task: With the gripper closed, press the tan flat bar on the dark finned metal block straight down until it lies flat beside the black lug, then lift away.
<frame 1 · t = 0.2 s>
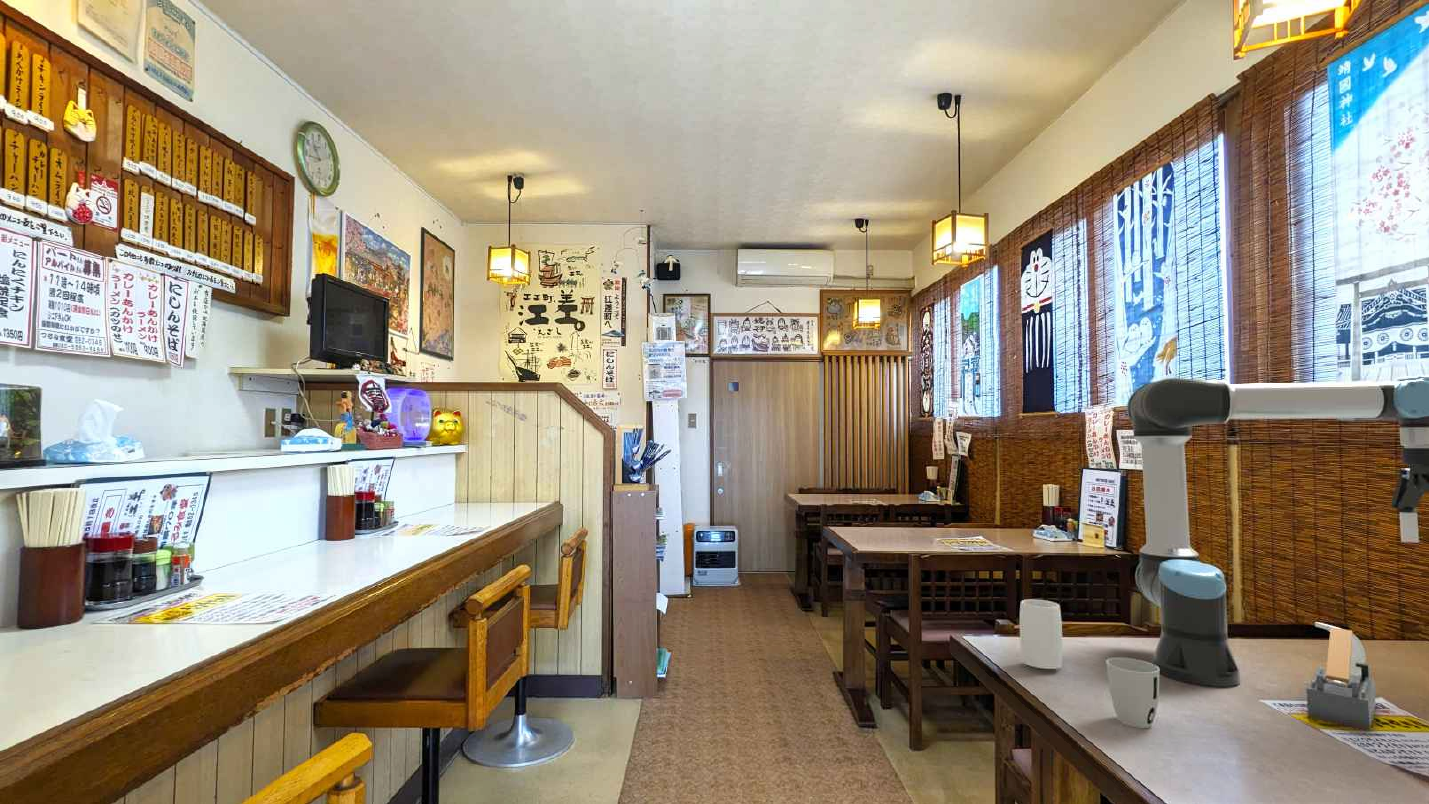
cup 2: (1041, 669, 146), on the table
cup: (1134, 723, 118), on the table
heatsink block: (1342, 711, 123), on the table
tan flat bar: (1339, 654, 124), point 10 cm above the table, hinge at 30.0°
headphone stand: (1342, 684, 137), on the table
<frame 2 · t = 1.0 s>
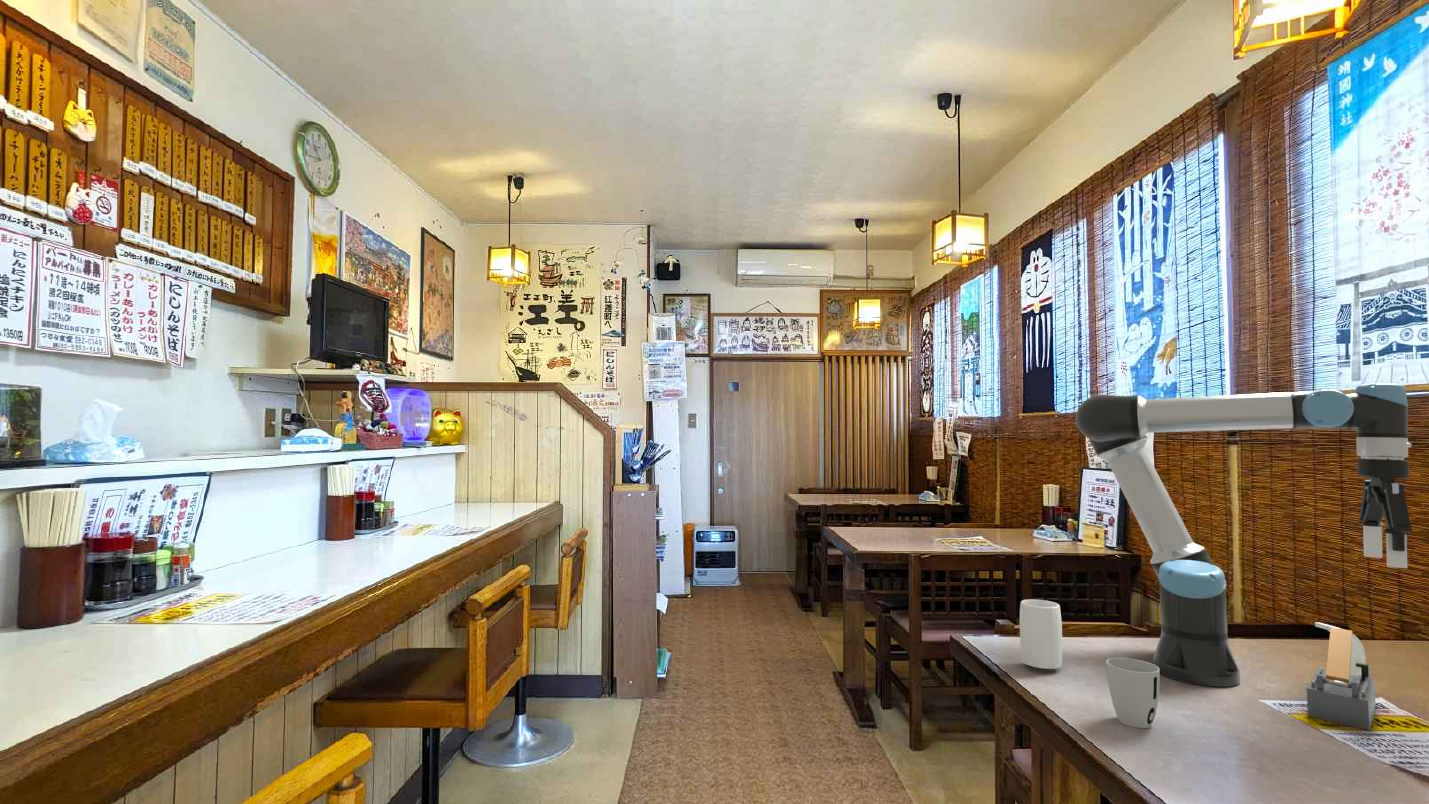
hand: (1384, 562, 135), 26 cm above the table, fingers open, 13 cm apart
nothing on the table moved.
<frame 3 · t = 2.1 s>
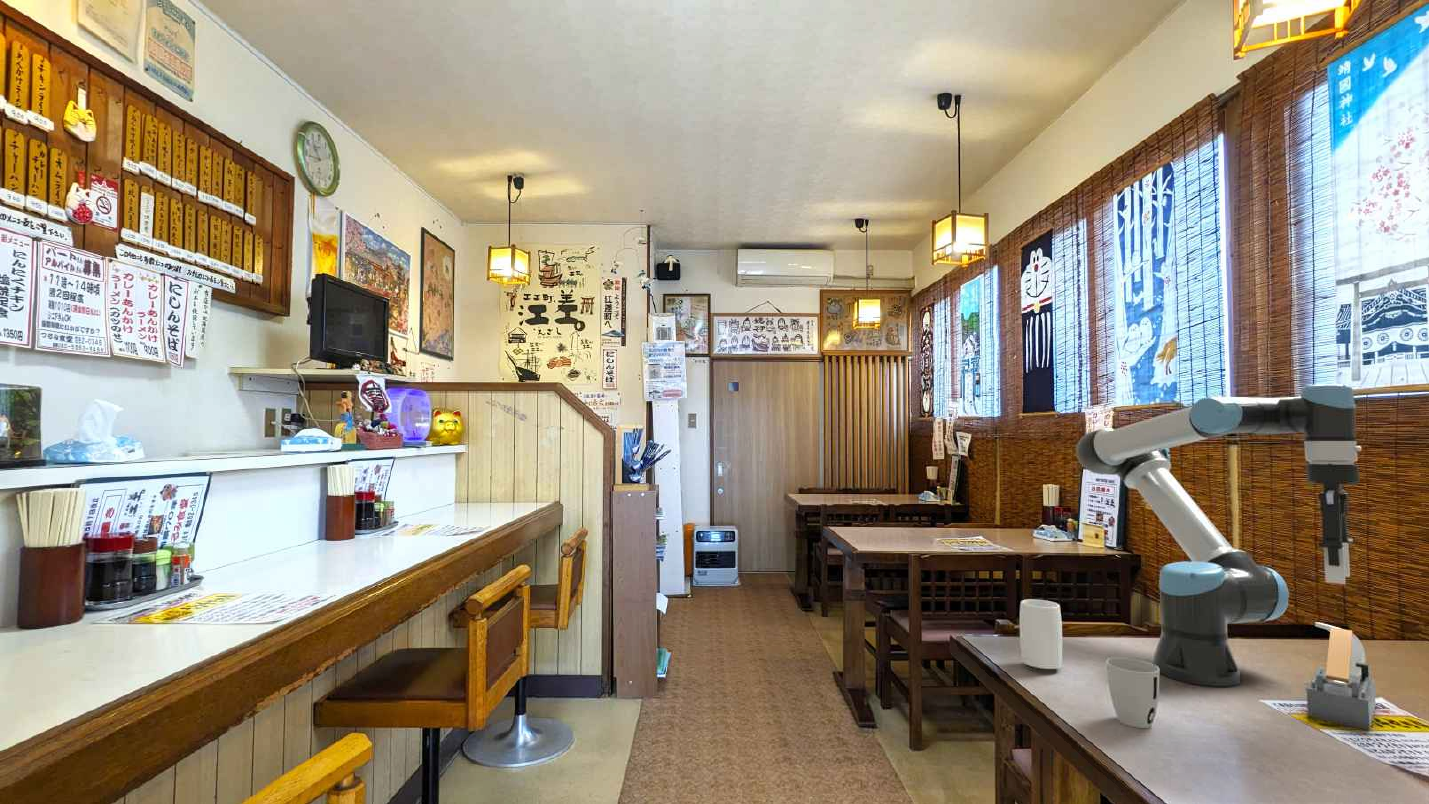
hand: (1338, 579, 128), 24 cm above the table, fingers open, 9 cm apart
nothing on the table moved.
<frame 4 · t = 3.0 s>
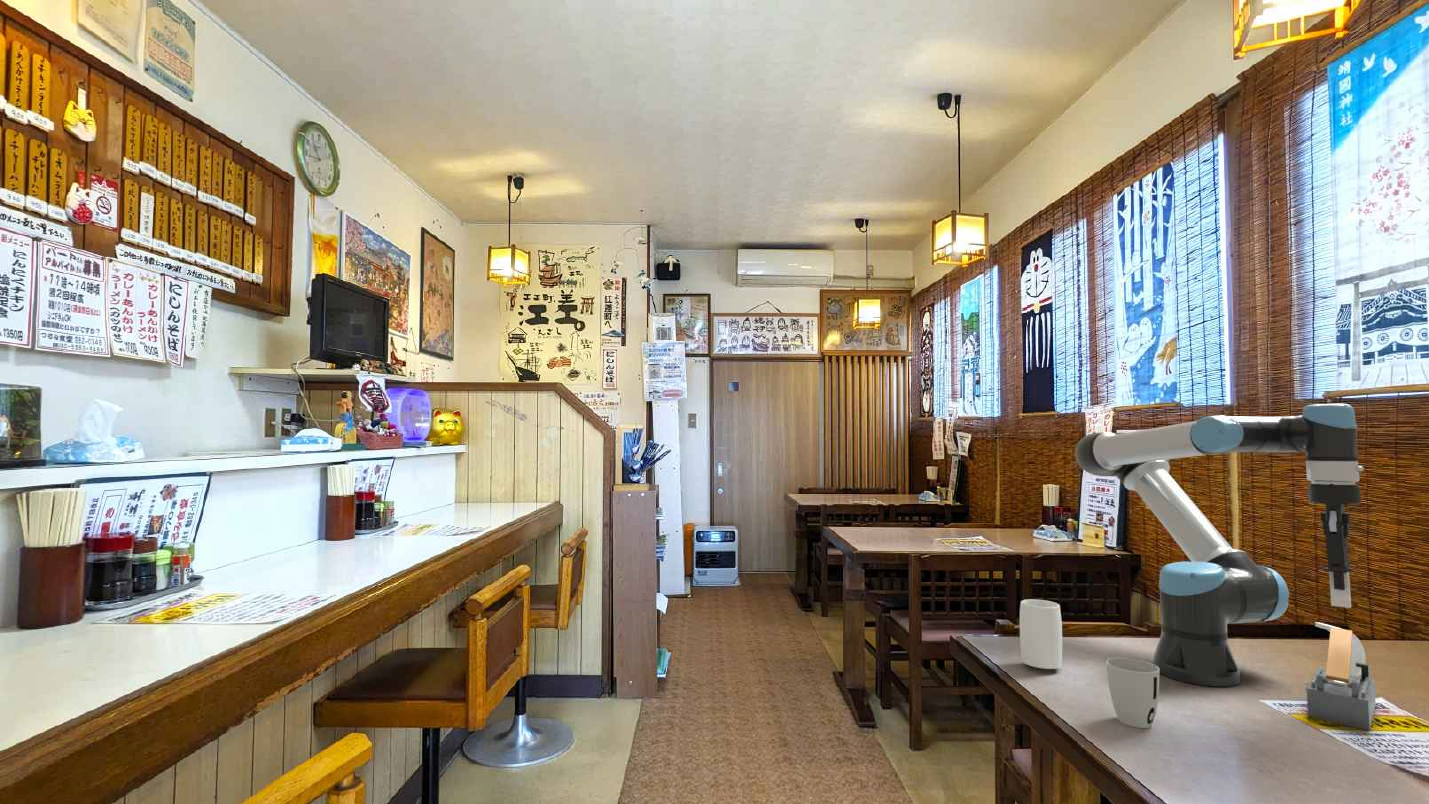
hand: (1341, 606, 127), 19 cm above the table, fingers closed
nothing on the table moved.
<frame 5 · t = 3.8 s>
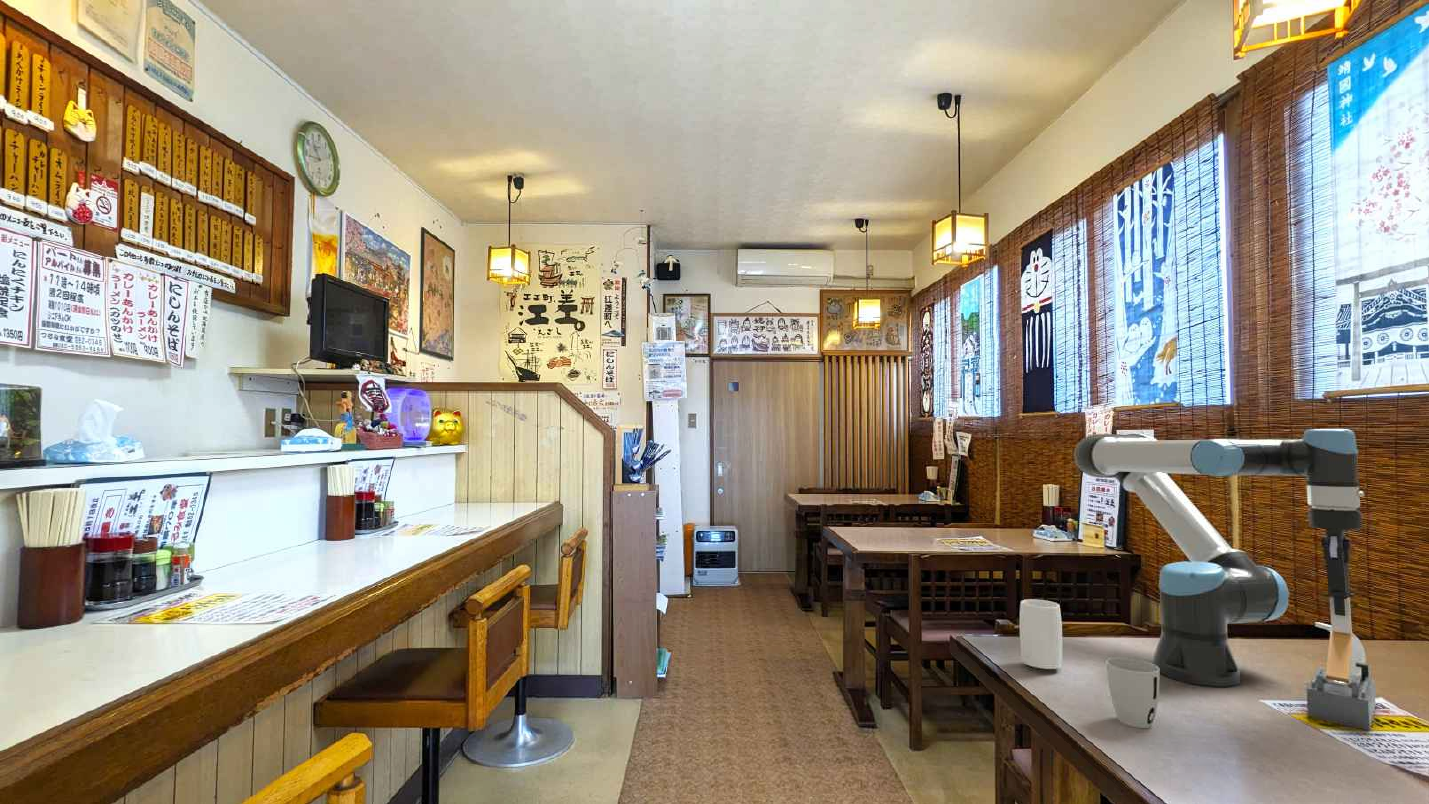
hand: (1341, 631, 127), 14 cm above the table, fingers closed
tan flat bar: (1339, 654, 124), point 10 cm above the table, hinge at 29.0°, touching gripper
everything else where it was.
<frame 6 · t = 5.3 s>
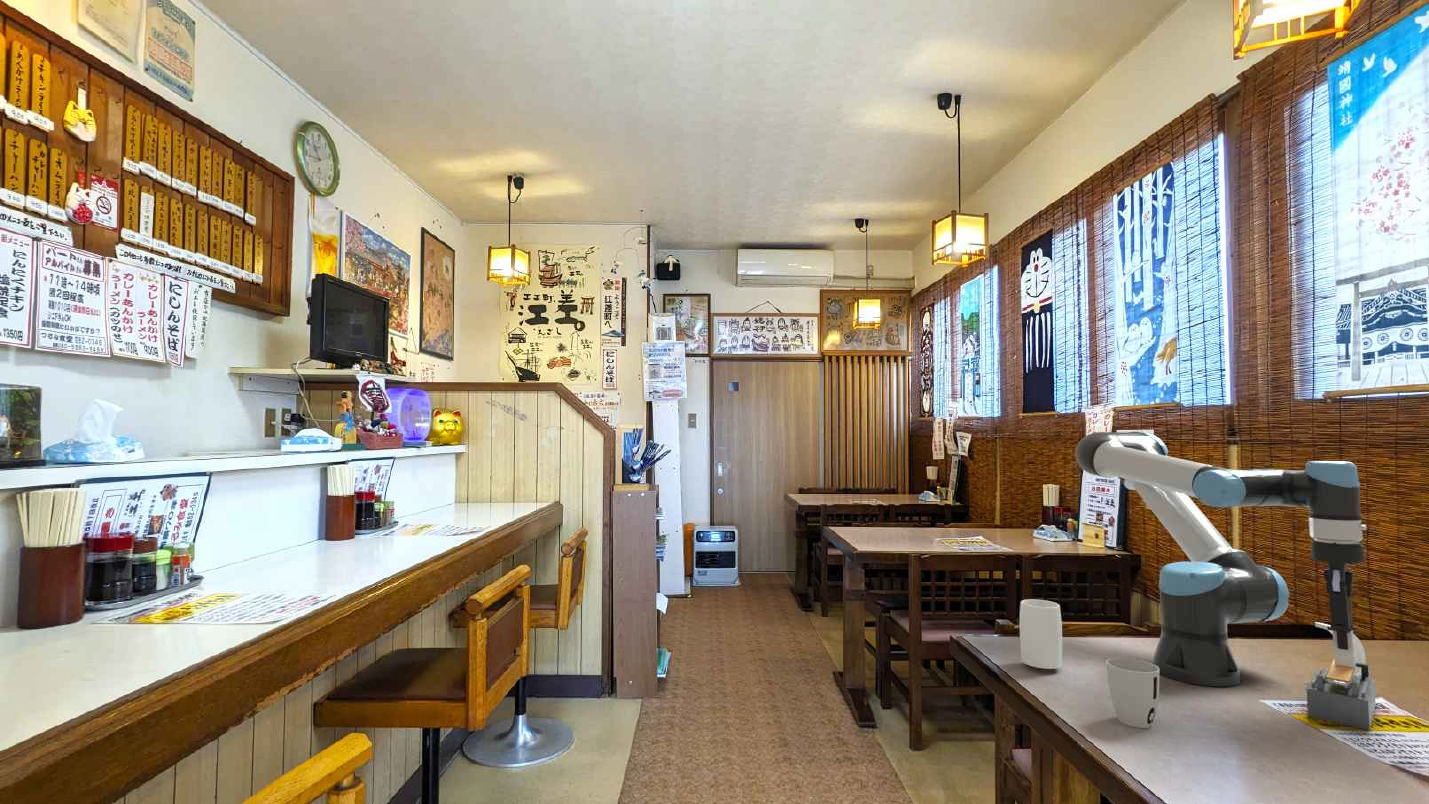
hand: (1344, 664, 126), 7 cm above the table, fingers closed, pressing on tan flat bar
tan flat bar: (1341, 672, 124), point 7 cm above the table, hinge at 1.4°, touching gripper
everything else where it was.
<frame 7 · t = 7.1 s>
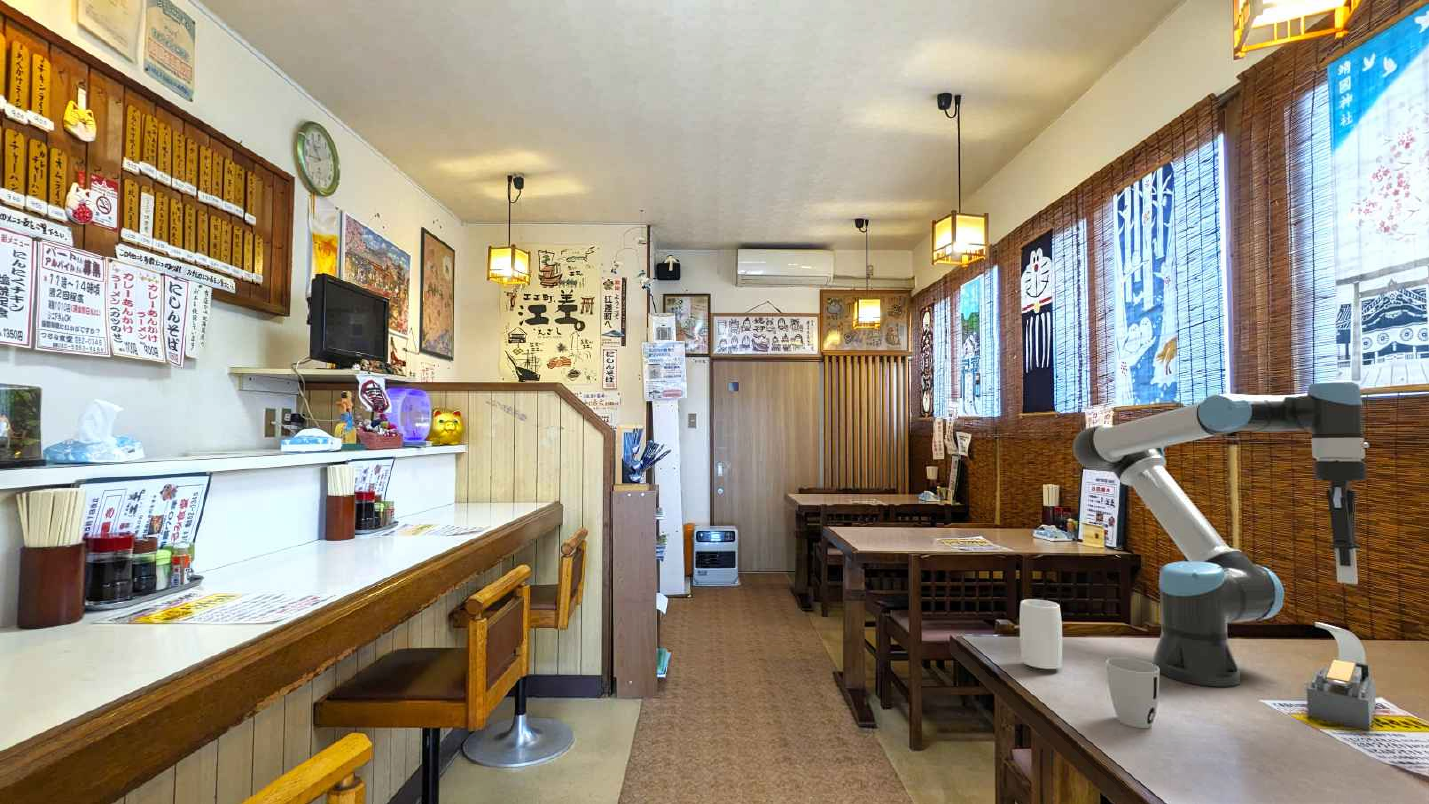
hand: (1347, 582, 127), 23 cm above the table, fingers closed
tan flat bar: (1341, 672, 124), point 7 cm above the table, hinge at 1.3°
everything else where it was.
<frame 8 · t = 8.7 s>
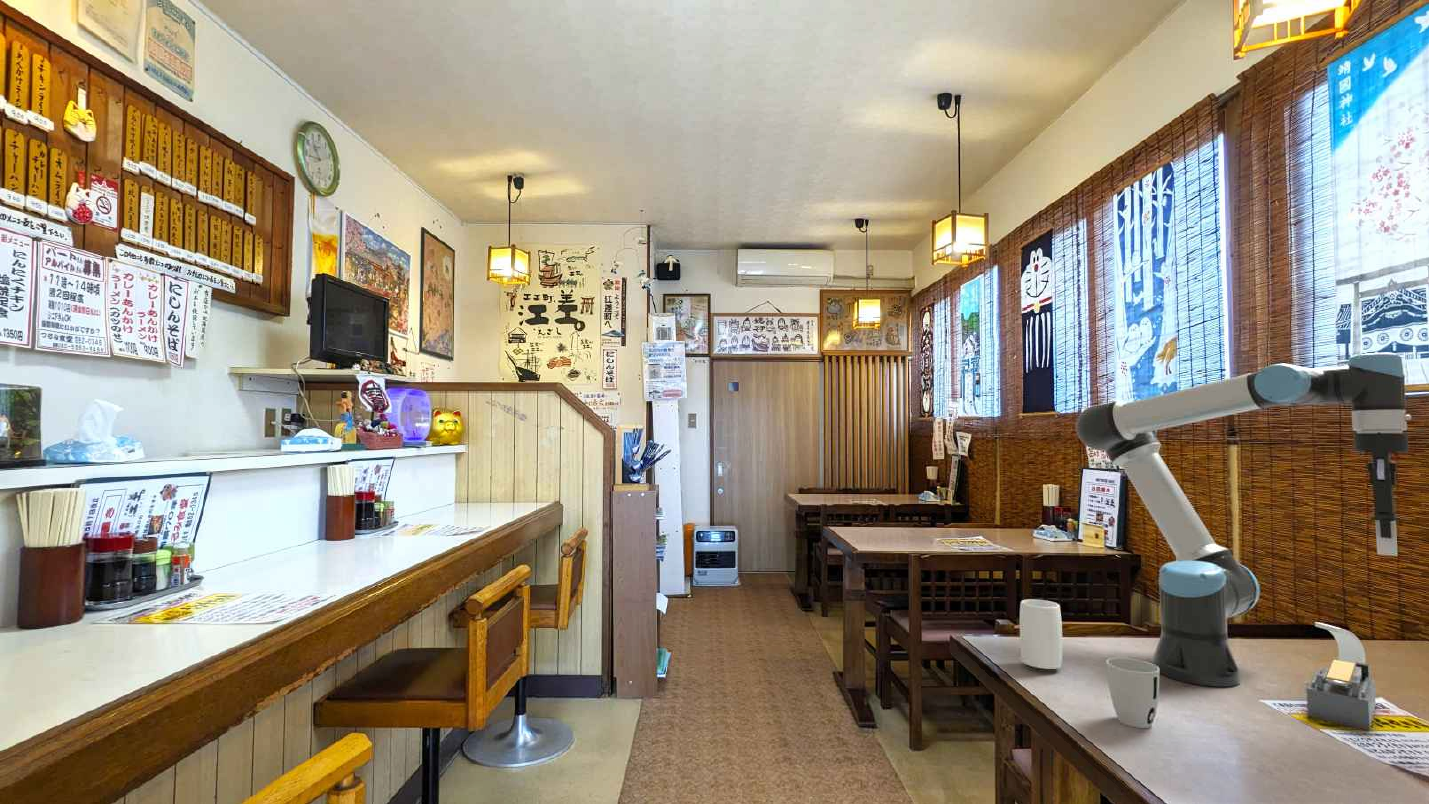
hand: (1387, 554, 127), 28 cm above the table, fingers closed
nothing on the table moved.
at the end: tan flat bar at +1° (first picture: +30°) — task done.
